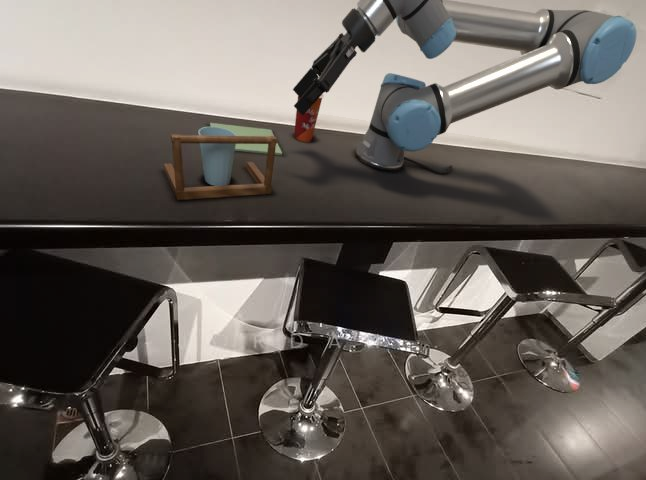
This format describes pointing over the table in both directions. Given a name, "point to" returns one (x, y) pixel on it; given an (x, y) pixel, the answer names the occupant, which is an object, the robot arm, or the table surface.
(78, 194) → the table surface
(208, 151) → the cup
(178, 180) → the rack
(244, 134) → the mat
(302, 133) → the paper cup
